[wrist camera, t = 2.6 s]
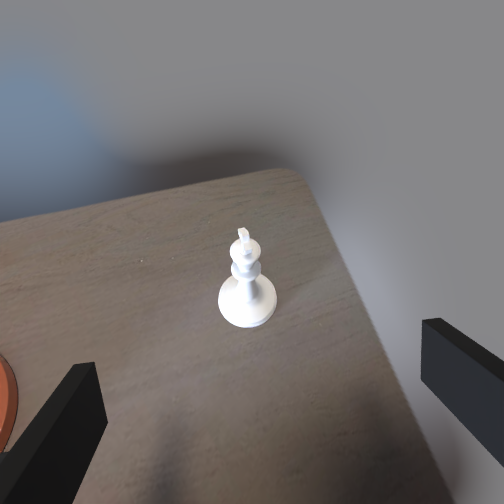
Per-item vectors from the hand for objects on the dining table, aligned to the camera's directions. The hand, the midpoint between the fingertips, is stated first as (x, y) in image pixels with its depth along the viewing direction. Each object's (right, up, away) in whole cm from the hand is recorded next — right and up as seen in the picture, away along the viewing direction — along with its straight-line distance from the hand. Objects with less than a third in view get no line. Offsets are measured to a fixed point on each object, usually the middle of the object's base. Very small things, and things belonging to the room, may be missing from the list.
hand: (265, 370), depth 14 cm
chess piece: (-1, +1, +16) cm, 16 cm away
